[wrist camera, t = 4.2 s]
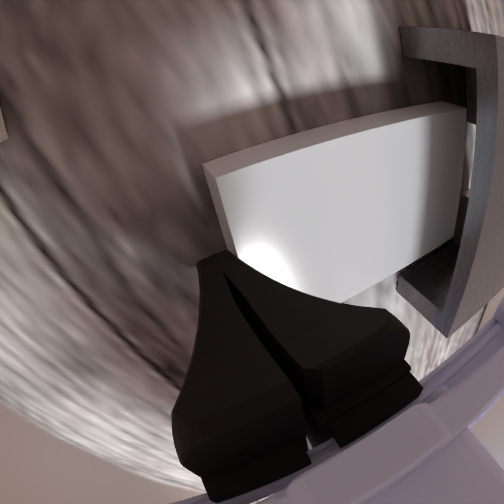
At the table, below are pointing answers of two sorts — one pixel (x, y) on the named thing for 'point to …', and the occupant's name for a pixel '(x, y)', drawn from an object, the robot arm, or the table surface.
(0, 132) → the condiment
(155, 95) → the table surface
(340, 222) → the tile
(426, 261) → the grey c-shaped bracket
